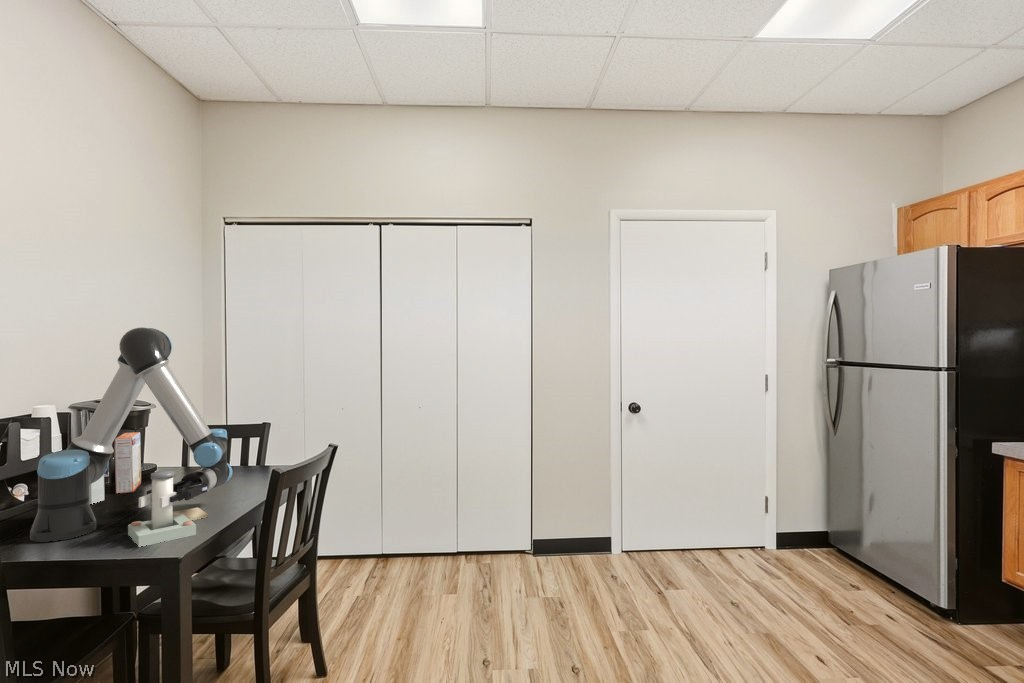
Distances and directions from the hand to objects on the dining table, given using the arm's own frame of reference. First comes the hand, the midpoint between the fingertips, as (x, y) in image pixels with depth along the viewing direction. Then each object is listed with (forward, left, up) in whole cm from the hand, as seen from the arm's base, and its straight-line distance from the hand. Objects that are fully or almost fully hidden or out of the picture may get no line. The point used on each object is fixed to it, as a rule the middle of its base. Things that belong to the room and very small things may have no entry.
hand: (150, 502), depth 155 cm
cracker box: (+8, +74, -11) cm, 75 cm away
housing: (+4, +4, -11) cm, 12 cm away
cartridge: (+4, +4, -9) cm, 10 cm away
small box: (-6, +62, -11) cm, 63 cm away
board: (+13, +18, -11) cm, 24 cm away
